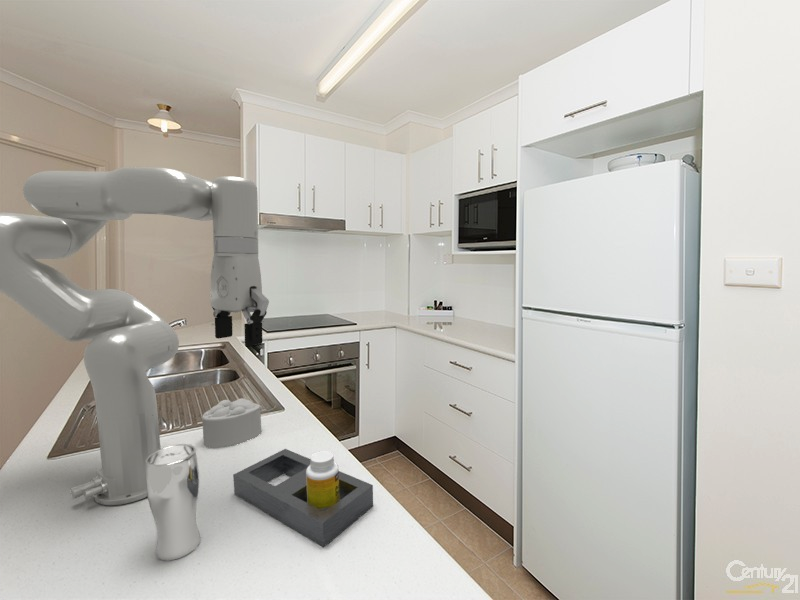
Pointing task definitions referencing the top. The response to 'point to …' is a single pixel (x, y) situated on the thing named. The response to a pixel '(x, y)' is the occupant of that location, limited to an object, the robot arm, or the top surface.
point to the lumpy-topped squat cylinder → (231, 423)
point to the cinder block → (301, 497)
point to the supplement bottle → (322, 481)
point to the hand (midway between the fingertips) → (238, 340)
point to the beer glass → (174, 499)
